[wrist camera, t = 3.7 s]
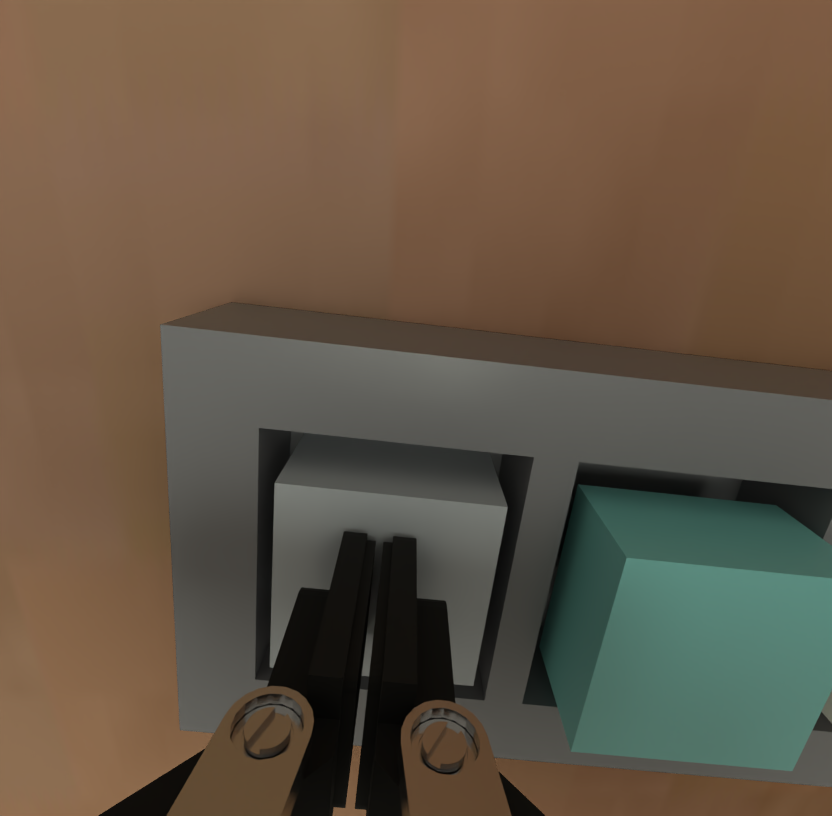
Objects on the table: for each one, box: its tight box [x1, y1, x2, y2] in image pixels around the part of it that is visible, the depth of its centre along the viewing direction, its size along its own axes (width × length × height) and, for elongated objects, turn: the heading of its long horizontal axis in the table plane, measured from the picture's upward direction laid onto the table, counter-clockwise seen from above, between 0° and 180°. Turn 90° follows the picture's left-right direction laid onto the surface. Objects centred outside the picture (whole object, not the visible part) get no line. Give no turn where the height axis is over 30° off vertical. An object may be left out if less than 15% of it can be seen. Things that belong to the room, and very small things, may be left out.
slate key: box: [270, 433, 508, 686], centre depth 13 cm, size 5×5×3 cm
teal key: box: [539, 484, 832, 771], centre depth 12 cm, size 5×5×3 cm
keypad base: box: [160, 302, 832, 787], centre depth 14 cm, size 24×11×4 cm, turn 84°
